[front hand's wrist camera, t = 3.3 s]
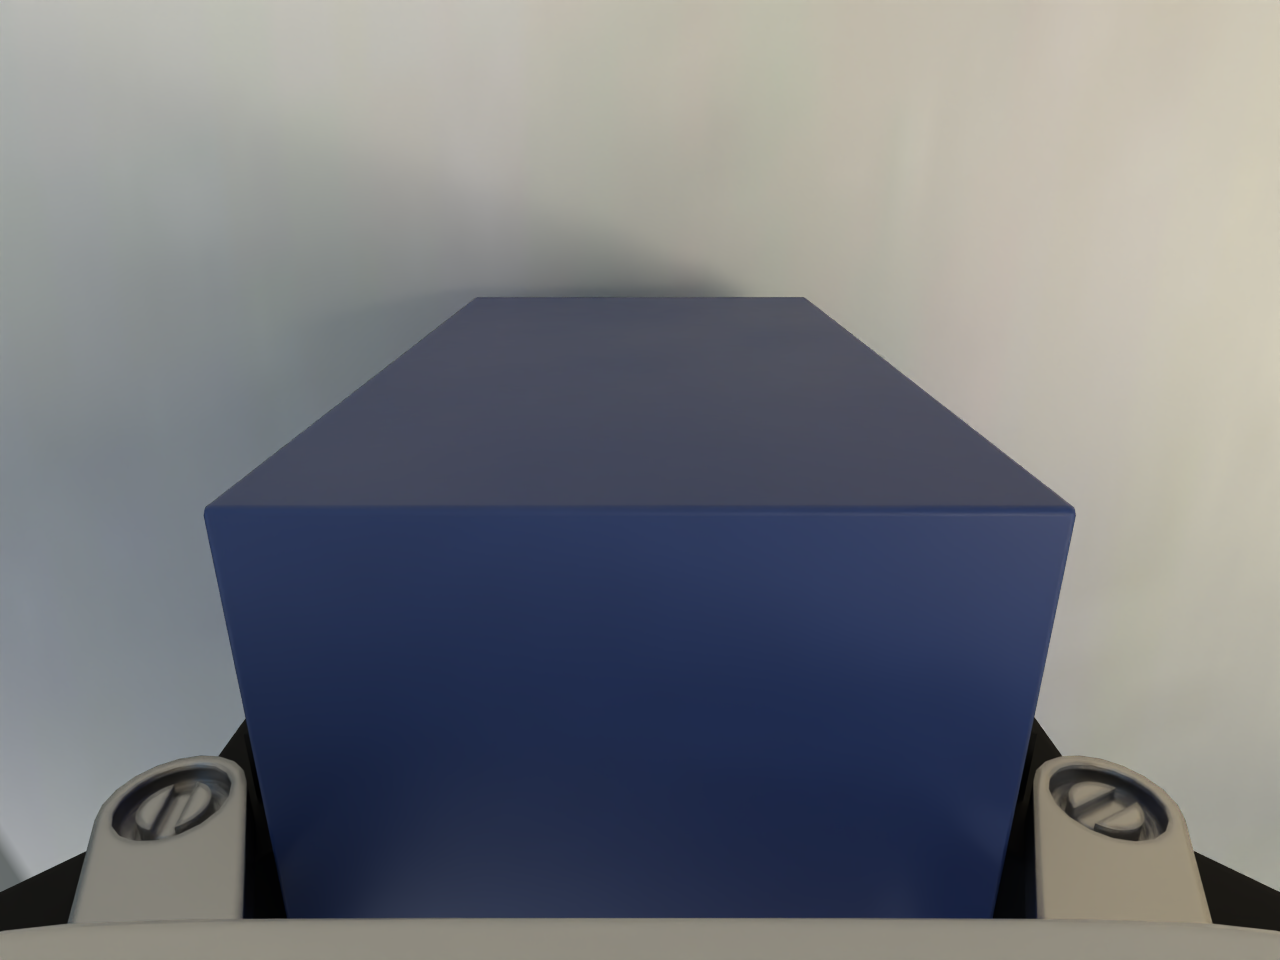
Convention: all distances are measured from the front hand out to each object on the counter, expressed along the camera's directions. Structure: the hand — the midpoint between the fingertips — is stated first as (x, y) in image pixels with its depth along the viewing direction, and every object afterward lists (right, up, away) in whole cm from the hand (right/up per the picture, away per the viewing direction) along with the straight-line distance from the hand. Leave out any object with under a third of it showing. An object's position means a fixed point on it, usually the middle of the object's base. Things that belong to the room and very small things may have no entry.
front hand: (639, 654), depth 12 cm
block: (0, +2, +5) cm, 5 cm away
